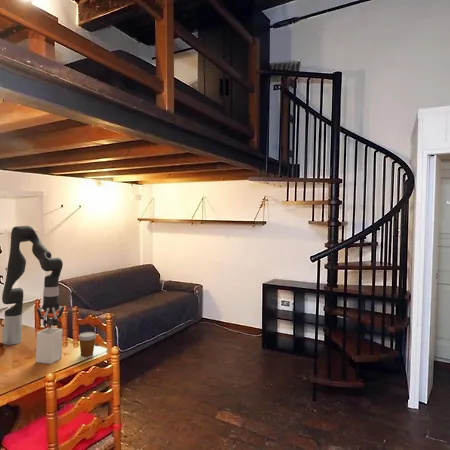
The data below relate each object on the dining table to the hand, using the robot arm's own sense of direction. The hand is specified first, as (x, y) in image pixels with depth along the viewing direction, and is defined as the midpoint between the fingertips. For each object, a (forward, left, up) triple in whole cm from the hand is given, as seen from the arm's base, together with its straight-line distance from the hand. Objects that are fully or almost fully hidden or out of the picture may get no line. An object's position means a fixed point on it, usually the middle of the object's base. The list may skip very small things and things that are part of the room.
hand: (50, 325), depth 193 cm
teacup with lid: (-13, +20, -19) cm, 30 cm away
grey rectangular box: (0, +2, -19) cm, 19 cm away
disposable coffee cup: (+16, +11, -19) cm, 27 cm away
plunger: (0, 0, -13) cm, 13 cm away
